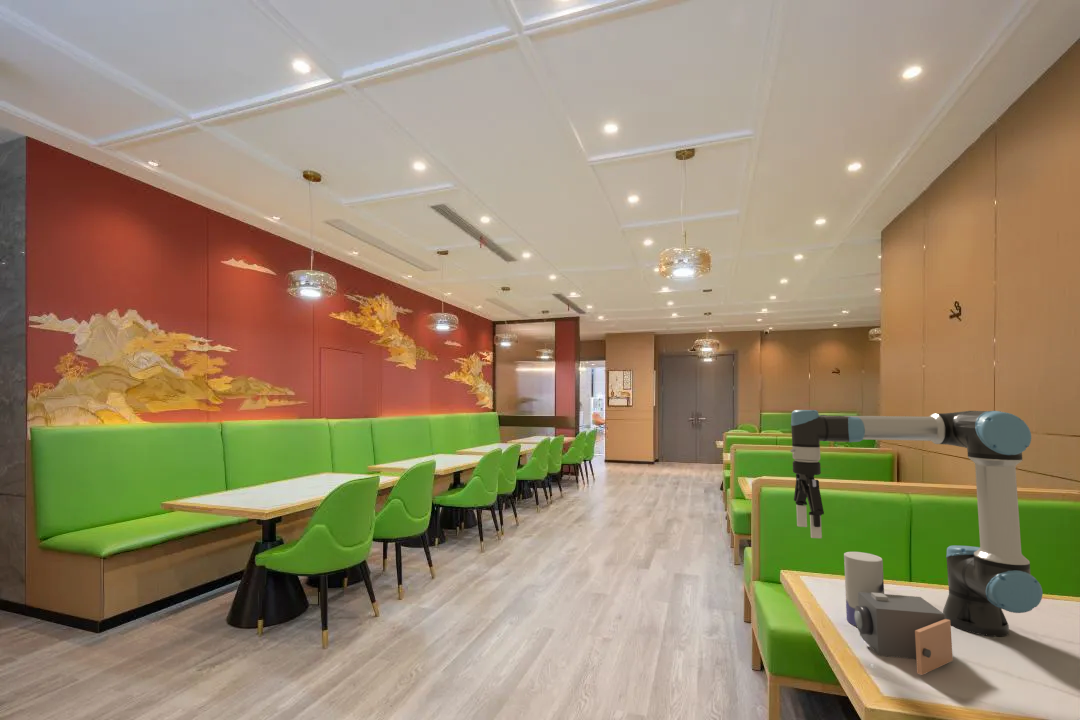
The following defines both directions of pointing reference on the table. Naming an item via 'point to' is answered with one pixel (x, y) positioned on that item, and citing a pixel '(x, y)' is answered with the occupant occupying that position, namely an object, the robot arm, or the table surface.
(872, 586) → the container
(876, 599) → the dark gray knobbed box
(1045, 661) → the table surface
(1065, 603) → the table surface
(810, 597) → the table surface
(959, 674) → the table surface
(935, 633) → the side door
